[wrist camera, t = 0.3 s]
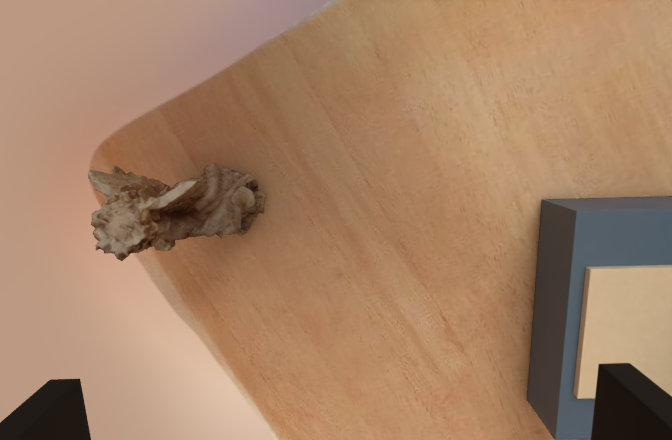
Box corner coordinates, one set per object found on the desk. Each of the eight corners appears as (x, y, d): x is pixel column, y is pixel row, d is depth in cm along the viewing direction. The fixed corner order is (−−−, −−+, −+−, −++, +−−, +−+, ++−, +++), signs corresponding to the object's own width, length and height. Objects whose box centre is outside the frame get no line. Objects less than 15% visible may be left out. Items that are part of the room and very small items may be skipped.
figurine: (177, 229, 34) (56, 302, 19) (175, 155, 33) (44, 172, 18) (268, 233, 34) (215, 308, 20) (269, 159, 33) (214, 180, 18)
